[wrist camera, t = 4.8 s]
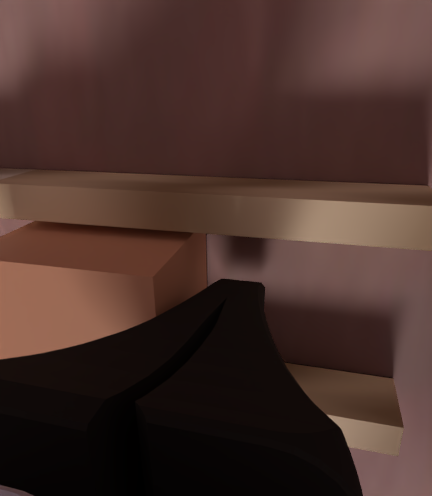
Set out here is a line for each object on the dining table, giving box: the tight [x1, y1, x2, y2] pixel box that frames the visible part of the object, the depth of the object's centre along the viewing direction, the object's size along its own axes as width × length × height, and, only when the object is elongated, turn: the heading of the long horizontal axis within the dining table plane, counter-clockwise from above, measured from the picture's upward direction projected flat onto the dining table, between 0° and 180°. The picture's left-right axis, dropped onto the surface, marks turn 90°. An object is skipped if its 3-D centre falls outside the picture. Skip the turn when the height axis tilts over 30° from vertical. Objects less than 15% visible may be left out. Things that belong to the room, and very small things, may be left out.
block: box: [0, 221, 207, 359], centre depth 12 cm, size 5×4×4 cm
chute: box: [0, 168, 432, 456], centre depth 12 cm, size 18×7×3 cm, turn 92°
